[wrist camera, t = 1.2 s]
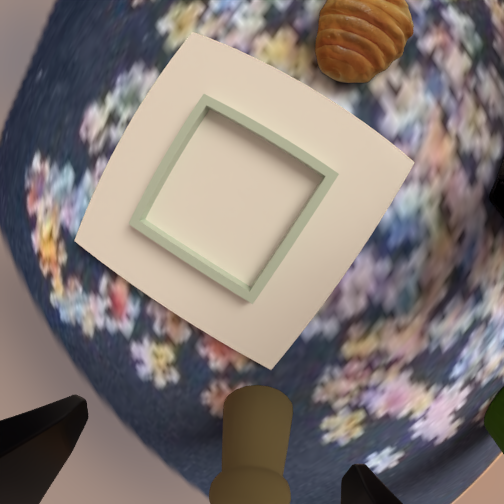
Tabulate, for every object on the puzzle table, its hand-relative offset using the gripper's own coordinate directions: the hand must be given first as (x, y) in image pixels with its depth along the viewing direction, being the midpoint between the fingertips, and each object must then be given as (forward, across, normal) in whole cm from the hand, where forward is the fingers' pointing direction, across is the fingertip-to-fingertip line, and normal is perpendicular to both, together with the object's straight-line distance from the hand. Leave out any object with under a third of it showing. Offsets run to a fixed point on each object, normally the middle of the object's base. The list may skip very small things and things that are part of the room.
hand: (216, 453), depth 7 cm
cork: (+14, -3, +10) cm, 17 cm away
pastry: (+14, -3, -22) cm, 26 cm away
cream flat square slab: (+14, +3, -7) cm, 16 cm away
